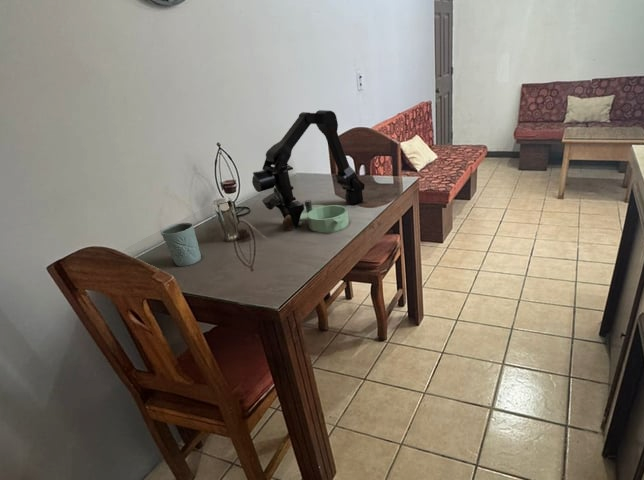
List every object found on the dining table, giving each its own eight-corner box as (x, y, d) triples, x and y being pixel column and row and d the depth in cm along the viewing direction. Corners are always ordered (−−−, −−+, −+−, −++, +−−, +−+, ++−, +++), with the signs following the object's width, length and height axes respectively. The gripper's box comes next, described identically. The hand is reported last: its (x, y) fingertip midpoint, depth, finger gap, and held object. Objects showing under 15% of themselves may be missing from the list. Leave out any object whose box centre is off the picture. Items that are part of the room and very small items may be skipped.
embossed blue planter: (173, 269, 140) (160, 236, 134) (173, 258, 148) (161, 226, 142) (204, 261, 143) (193, 229, 137) (203, 251, 151) (192, 220, 145)
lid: (319, 204, 184) (316, 192, 182) (336, 213, 172) (334, 200, 170) (284, 214, 177) (281, 201, 174) (300, 224, 165) (297, 210, 162)
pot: (334, 213, 173) (332, 201, 170) (359, 226, 158) (357, 213, 155) (300, 223, 166) (297, 211, 164) (323, 238, 151) (321, 224, 148)
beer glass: (225, 243, 155) (213, 204, 148) (222, 237, 161) (210, 200, 153) (244, 238, 158) (233, 200, 150) (240, 233, 163) (229, 195, 156)
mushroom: (308, 216, 162) (295, 206, 159) (300, 231, 158) (287, 221, 155) (296, 223, 168) (284, 213, 165) (289, 238, 163) (276, 228, 160)
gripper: (253, 184, 157) (263, 223, 165) (270, 195, 143) (280, 237, 151) (281, 177, 162) (289, 216, 170) (300, 187, 148) (308, 228, 156)
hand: (291, 224), depth 162 cm, fingers open, 9 cm apart
